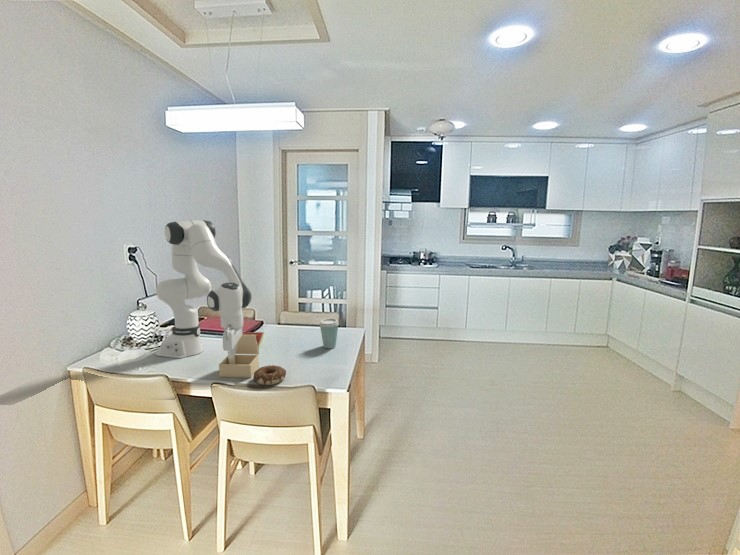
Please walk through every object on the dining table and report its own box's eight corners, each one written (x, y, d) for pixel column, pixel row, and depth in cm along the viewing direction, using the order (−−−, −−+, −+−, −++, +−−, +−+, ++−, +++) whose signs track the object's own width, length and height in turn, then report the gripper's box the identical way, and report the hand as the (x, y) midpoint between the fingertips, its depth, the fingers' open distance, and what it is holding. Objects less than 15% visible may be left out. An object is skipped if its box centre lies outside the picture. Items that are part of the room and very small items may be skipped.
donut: (273, 389, 164) (273, 378, 163) (247, 383, 169) (246, 372, 168) (292, 376, 177) (292, 365, 176) (267, 371, 182) (267, 360, 181)
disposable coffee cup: (329, 351, 208) (329, 324, 205) (315, 346, 214) (315, 320, 211) (342, 346, 216) (342, 320, 213) (328, 341, 222) (328, 316, 220)
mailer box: (219, 377, 174) (218, 353, 172) (229, 366, 186) (228, 344, 184) (250, 378, 174) (250, 354, 172) (258, 367, 186) (258, 345, 184)
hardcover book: (235, 352, 205) (235, 344, 204) (242, 339, 226) (242, 332, 225) (259, 351, 207) (259, 344, 206) (264, 338, 227) (263, 331, 227)
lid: (223, 334, 178) (223, 334, 178) (228, 353, 185) (228, 353, 185) (255, 335, 178) (255, 334, 178) (258, 354, 185) (259, 353, 185)
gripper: (234, 329, 153) (236, 362, 155) (244, 315, 173) (246, 345, 176) (217, 329, 152) (219, 363, 155) (230, 315, 173) (231, 345, 175)
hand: (233, 353), depth 165 cm, fingers closed
